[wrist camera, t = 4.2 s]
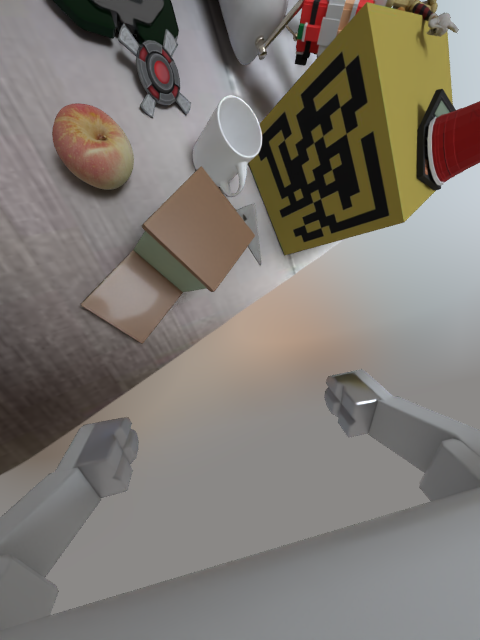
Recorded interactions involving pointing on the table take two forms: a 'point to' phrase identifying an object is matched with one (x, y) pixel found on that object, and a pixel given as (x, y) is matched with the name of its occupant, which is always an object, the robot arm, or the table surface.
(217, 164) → the mug
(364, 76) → the decorative box
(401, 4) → the decorative dagger
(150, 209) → the table surface
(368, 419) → the robot arm
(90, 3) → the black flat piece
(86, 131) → the apple
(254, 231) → the grey triangular spike
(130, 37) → the toy
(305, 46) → the figurine
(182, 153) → the table surface
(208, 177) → the green brown stepped block
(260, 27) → the lamp
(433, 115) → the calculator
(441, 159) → the plastic cup
